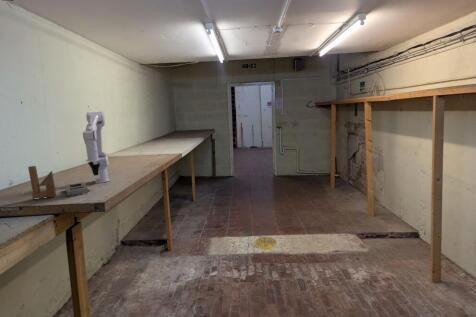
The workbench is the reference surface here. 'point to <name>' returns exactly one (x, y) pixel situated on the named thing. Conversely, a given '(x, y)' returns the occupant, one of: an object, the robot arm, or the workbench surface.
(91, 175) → the block
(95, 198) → the workbench surface
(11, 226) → the workbench surface
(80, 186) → the socket plate
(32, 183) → the wooden stand
